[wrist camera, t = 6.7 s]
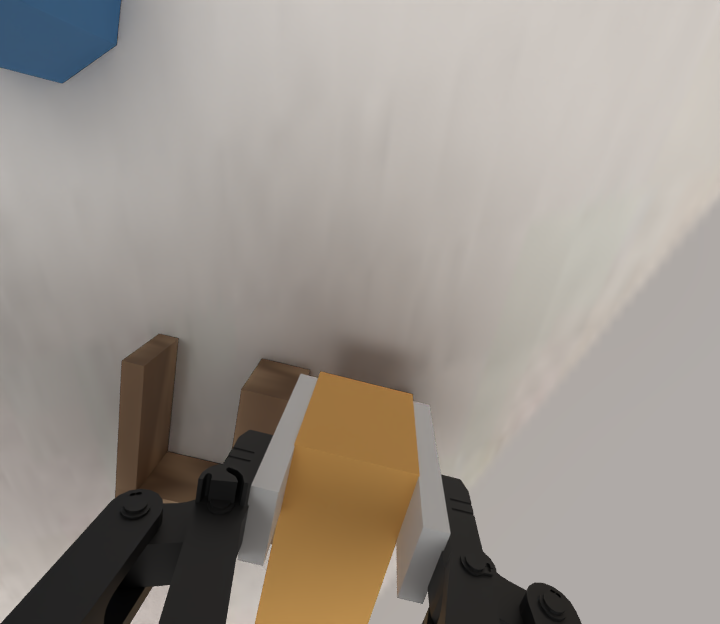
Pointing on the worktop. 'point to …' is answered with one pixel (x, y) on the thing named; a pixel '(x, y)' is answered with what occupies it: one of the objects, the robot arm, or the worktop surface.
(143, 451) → the bronze desk organizer
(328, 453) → the tall orange brick
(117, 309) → the worktop surface
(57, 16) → the blue water bottle
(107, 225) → the worktop surface
